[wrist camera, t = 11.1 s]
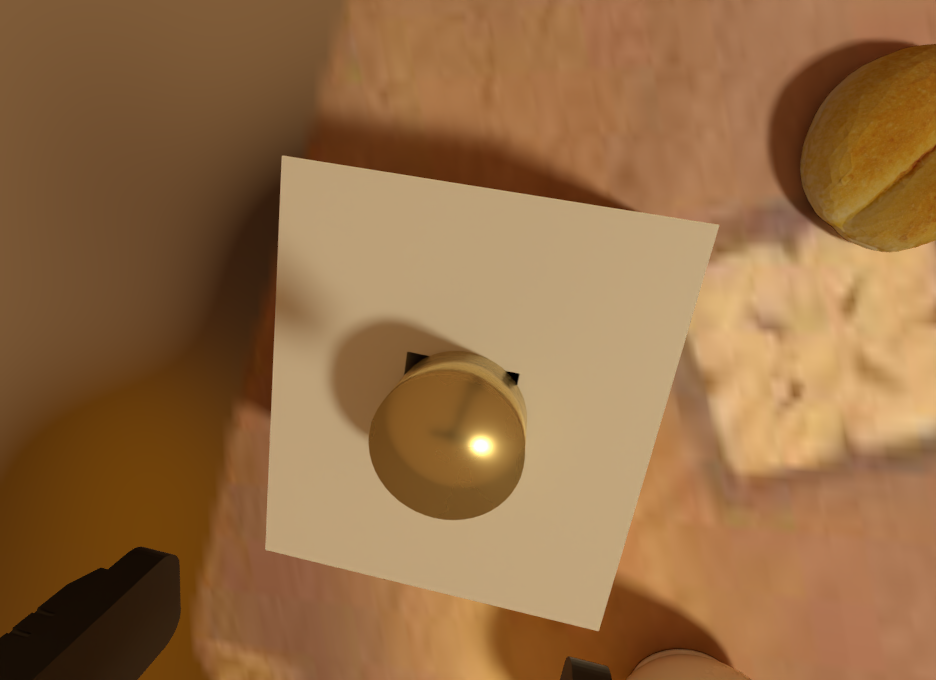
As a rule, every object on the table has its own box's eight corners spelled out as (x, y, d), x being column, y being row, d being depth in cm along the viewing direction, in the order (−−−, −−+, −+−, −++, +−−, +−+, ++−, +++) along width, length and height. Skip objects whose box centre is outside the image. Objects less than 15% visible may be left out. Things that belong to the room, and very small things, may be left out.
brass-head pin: (443, 299, 28) (376, 361, 16) (539, 316, 27) (539, 393, 16) (431, 387, 29) (361, 501, 18) (521, 405, 29) (509, 535, 17)
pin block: (371, 174, 27) (281, 155, 18) (653, 219, 26) (719, 225, 16) (345, 450, 33) (265, 549, 23) (580, 501, 31) (598, 631, 21)
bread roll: (902, 18, 22) (977, -22, 19) (1022, 155, 23) (1118, 144, 19) (753, 157, 25) (792, 147, 21) (866, 278, 25) (924, 290, 22)
